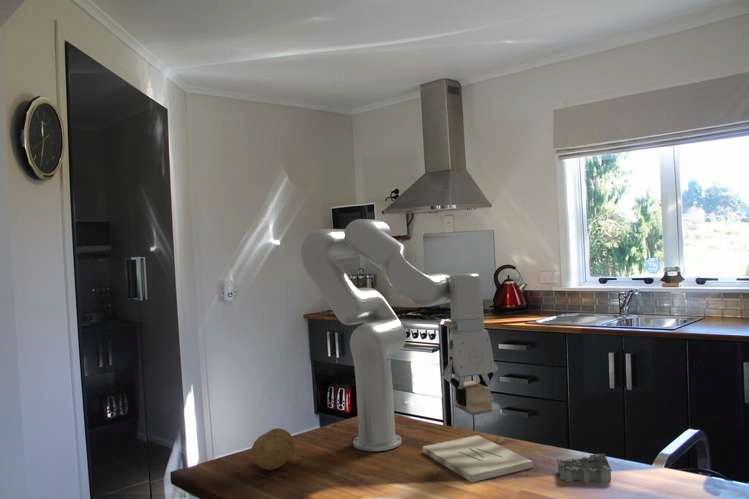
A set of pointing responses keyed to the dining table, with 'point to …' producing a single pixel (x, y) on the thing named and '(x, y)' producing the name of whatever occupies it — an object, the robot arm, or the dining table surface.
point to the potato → (273, 449)
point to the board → (477, 458)
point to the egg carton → (585, 469)
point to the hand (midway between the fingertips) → (472, 402)
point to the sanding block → (475, 398)
